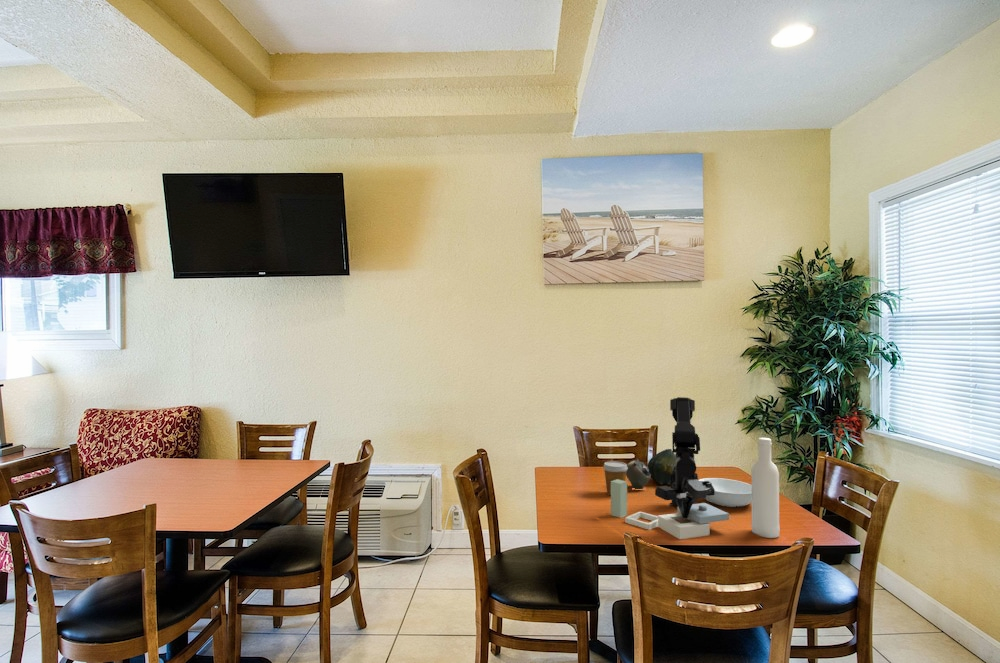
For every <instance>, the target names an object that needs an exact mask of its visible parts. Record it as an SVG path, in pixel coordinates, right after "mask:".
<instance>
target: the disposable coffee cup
mask: <svg viewBox="0 0 1000 663" xmlns="http://www.w3.org/2000/svg"><path fill="white" fill-rule="evenodd" d="M602 468H603V469H604V477H605V486H606V493H608V494H609V495H611V481H613V480H616V479H619V480H623V481H626V478H627V476H626V471H627V469H628V467H627V463H625V462H622V461H613V460H612V461H605V462H604V463H603V466H602ZM608 494H607V495H608ZM609 495H608V496H609Z"/></svg>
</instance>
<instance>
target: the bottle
mask: <svg viewBox="0 0 1000 663" xmlns="http://www.w3.org/2000/svg"><path fill="white" fill-rule="evenodd" d="M757 445H758V460H756V462H754V463H753V465H752V468H751V485H752V502H751V532H752V533H753V534H755V535H757V536H759V537H761V538H768V539H775V538H778V537H780V531H781V530H780V472H779V469H778V467H777V465H776V464H775V463H774V462H773V461H772V446H773V443H772V439H771V438H769V437H758V442H757Z"/></svg>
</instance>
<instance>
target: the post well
mask: <svg viewBox="0 0 1000 663" xmlns="http://www.w3.org/2000/svg"><path fill="white" fill-rule="evenodd" d="M624 517H625V518H624V521H625V523H626V524H629V525H632V526H636V527H638V528H641V529H646V530H649V531H650V530H652V529H654V528H657V527H658V515H654V514H651V513H647V512H645V511H638V512H635V513H632V514H630V515H627V516H624ZM639 519H645V520H649V521H650V522H646V521H641V520H639Z"/></svg>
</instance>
